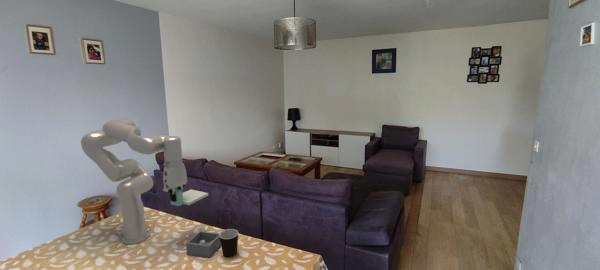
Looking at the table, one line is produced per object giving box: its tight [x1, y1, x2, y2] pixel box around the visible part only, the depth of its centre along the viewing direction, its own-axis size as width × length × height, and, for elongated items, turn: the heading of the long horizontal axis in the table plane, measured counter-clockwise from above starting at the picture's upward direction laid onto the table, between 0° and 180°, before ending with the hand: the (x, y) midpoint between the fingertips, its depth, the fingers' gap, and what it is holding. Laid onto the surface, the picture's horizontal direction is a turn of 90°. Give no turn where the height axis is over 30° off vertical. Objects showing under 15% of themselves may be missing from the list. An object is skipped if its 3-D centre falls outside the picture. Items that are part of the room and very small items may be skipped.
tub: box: [185, 230, 222, 259], centre depth 132 cm, size 12×11×6 cm
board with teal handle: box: [170, 188, 209, 207], centre depth 138 cm, size 16×12×7 cm
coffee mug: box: [219, 228, 239, 259], centre depth 130 cm, size 12×9×10 cm
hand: (176, 199), depth 133 cm, fingers closed on board with teal handle, 3 cm apart
